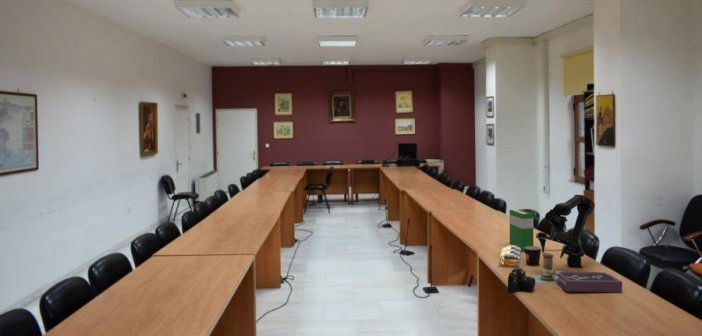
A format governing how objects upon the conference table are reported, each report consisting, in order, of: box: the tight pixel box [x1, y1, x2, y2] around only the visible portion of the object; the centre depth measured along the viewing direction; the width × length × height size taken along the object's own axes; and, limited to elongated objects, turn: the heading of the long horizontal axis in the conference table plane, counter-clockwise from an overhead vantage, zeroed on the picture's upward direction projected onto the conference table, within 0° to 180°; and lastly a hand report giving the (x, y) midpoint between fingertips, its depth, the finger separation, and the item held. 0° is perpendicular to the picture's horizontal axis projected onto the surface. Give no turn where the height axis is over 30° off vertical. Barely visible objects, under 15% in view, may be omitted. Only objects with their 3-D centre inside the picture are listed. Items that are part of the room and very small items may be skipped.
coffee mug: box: [524, 245, 542, 267], centre depth 285 cm, size 12×9×10 cm
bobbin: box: [540, 252, 555, 281], centre depth 255 cm, size 7×7×12 cm
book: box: [553, 270, 623, 293], centre depth 243 cm, size 25×16×5 cm, turn 88°
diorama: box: [499, 244, 522, 268], centre depth 291 cm, size 25×10×13 cm, turn 160°
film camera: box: [507, 267, 536, 294], centre depth 243 cm, size 18×12×10 cm
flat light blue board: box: [531, 274, 558, 285], centre depth 256 cm, size 14×14×1 cm
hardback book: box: [509, 209, 534, 253], centre depth 322 cm, size 18×7×24 cm, turn 7°
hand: (551, 255), depth 265 cm, fingers open, 9 cm apart
